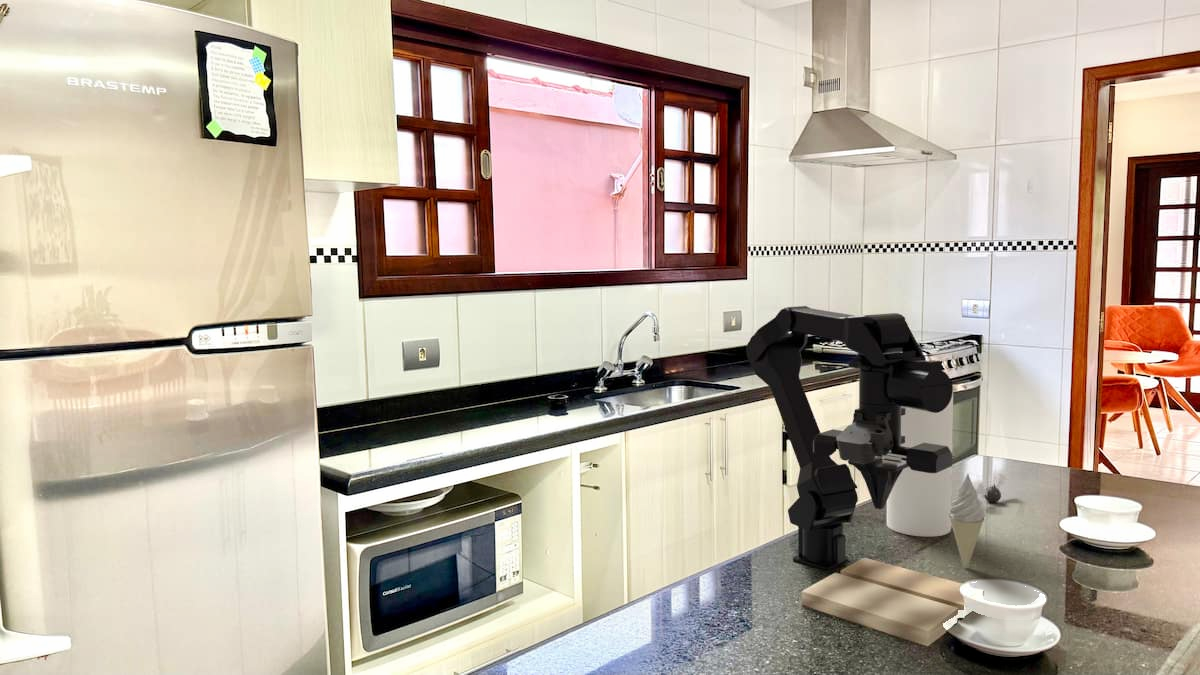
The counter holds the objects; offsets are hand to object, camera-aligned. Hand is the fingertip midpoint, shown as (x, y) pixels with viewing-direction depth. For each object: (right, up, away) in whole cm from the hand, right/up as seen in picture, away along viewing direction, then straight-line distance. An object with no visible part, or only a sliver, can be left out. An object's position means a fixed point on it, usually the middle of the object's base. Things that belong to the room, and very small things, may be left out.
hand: (879, 508), depth 119 cm
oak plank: (-3, -13, -7) cm, 15 cm away
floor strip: (+4, -12, -1) cm, 13 cm away
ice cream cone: (+16, -11, +8) cm, 21 cm away
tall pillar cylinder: (+16, -9, +28) cm, 33 cm away
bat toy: (+36, -8, +41) cm, 55 cm away
